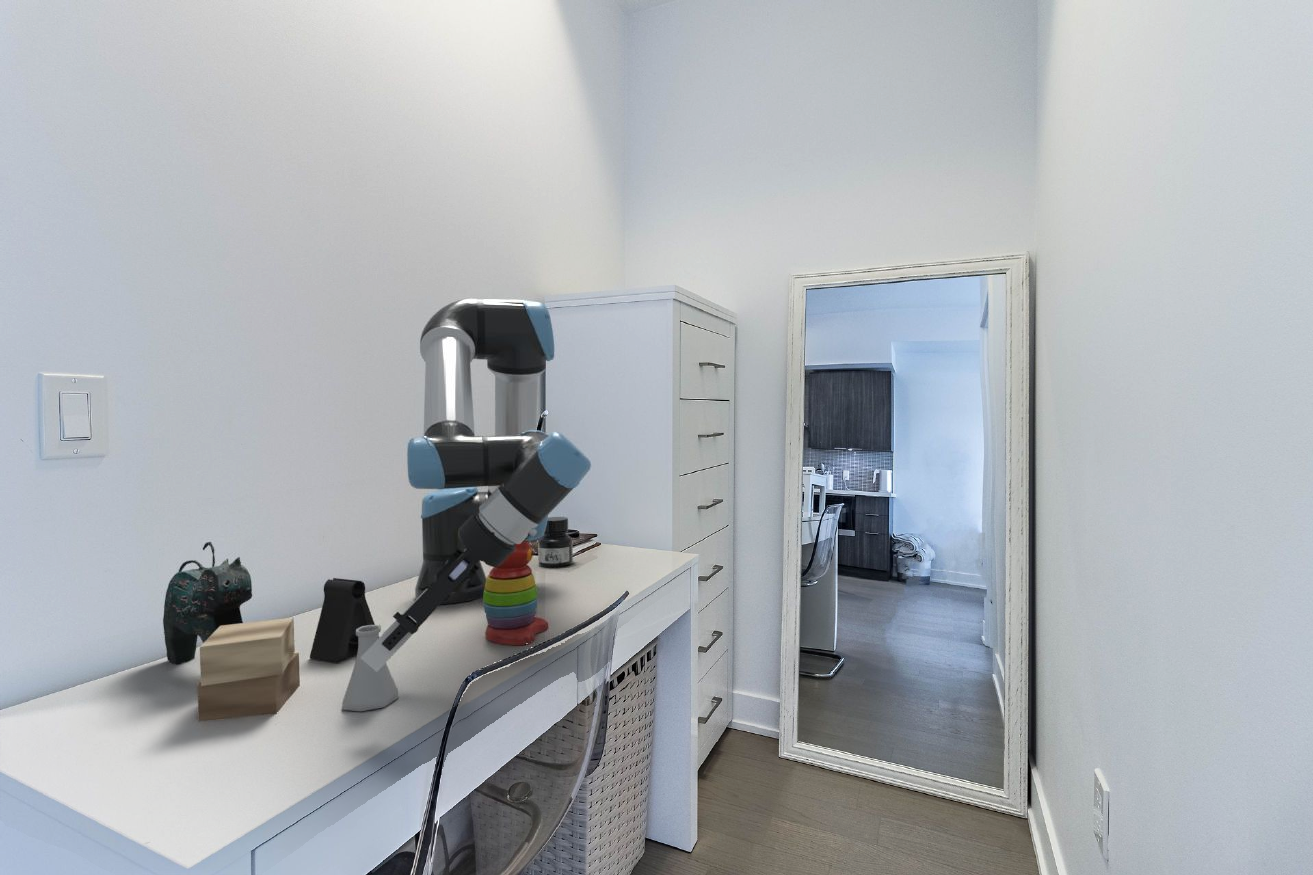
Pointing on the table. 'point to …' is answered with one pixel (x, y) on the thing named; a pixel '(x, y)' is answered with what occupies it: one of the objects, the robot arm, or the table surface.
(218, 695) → the block lower
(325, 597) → the phone stand
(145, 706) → the table surface
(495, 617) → the stacking bear
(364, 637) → the flask
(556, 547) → the ink bottle
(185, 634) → the ceramic cat
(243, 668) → the block upper
